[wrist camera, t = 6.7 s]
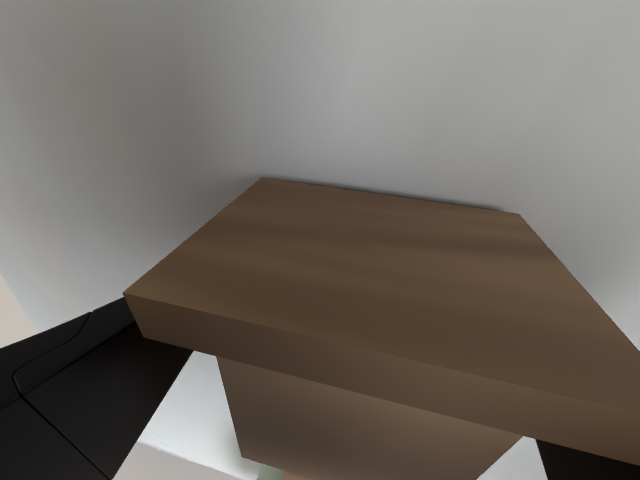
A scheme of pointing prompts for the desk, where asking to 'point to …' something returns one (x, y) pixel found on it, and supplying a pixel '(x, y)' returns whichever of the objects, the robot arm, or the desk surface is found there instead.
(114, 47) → the desk surface
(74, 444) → the robot arm
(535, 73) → the desk surface
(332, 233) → the brown wooden stepped block
